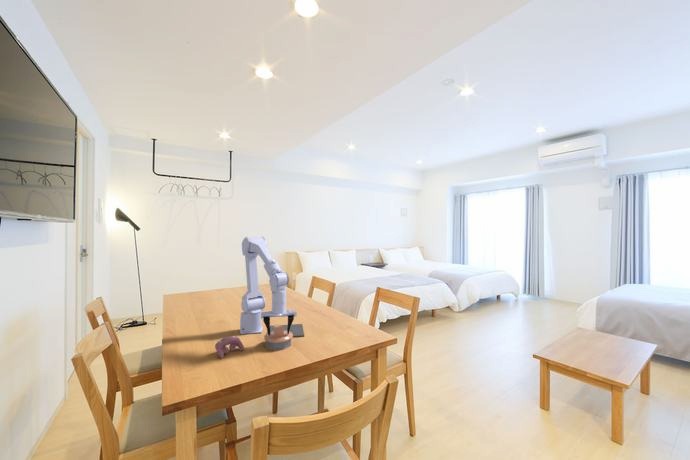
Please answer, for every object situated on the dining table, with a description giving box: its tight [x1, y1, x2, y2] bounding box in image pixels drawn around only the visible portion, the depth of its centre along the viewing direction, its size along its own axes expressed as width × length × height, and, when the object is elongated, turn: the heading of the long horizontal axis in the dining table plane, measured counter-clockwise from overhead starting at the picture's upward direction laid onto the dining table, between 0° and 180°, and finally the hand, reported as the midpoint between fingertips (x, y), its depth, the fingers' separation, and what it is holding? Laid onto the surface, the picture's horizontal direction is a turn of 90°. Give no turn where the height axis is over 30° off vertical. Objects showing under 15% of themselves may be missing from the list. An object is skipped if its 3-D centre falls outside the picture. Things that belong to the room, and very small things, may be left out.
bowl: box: [265, 339, 292, 351], centre depth 120 cm, size 10×10×3 cm
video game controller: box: [214, 335, 245, 359], centre depth 112 cm, size 10×5×7 cm, turn 141°
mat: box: [270, 323, 305, 338], centre depth 134 cm, size 16×15×1 cm
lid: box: [263, 324, 294, 343], centre depth 120 cm, size 12×12×4 cm
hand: (278, 333), depth 120 cm, fingers open, 7 cm apart
